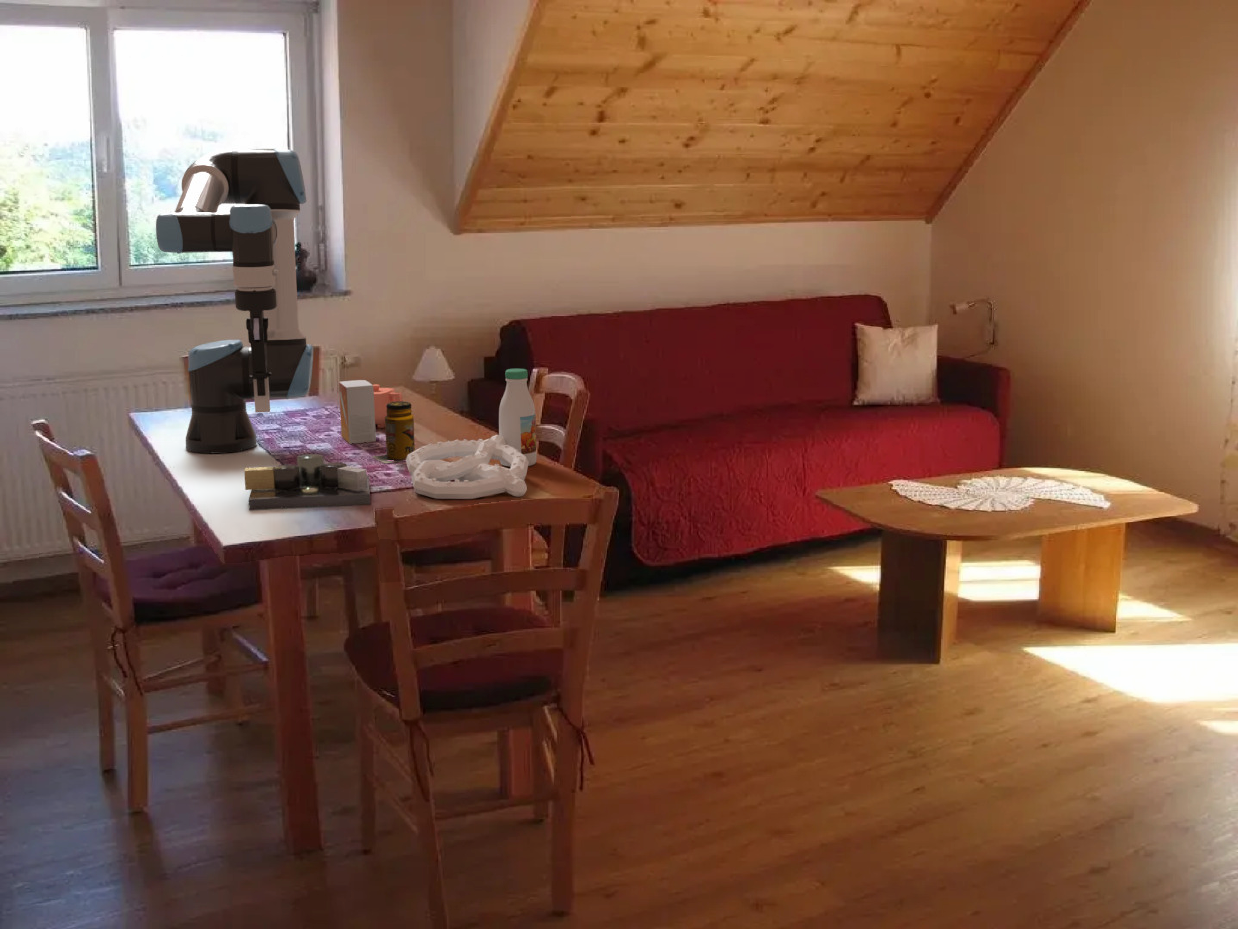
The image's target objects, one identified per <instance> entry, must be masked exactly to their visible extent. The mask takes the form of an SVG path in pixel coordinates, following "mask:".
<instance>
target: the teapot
mask: <svg viewBox="0 0 1238 929" xmlns="http://www.w3.org/2000/svg"><path fill="white" fill-rule="evenodd" d="M372 385H373V390H374V410H375V425H377V428H378V429H384V428H385V417H386V415H387V413H386V411H387V407H386V406H387V404H388V403H390V402H397V401H402V402H404V400H403V394H402V392H396V391H395V389H394V388H391V387H381V385H380V384H377V383H376V384H372Z"/></svg>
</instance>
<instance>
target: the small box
mask: <svg viewBox="0 0 1238 929" xmlns="http://www.w3.org/2000/svg"><path fill="white" fill-rule="evenodd" d="M373 385H374V384H372V383H371V382H370V381H367V380H365V379H356V380H344V381H343V380H342V381H338V389H339V410H340V432H341V435H340V436H341V437H342V438H343V439H344V440H345V441H346V442H347V443H348V444H350V445H353V444H352V443H354V444H361V443H362V444H363V443H364V442H366V443H374V442H377V436H376V434H377V433H376V432H377V431H376V424H375V410H374V390H373ZM364 444H365V443H364Z"/></svg>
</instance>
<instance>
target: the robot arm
mask: <svg viewBox="0 0 1238 929" xmlns="http://www.w3.org/2000/svg"><path fill="white" fill-rule="evenodd" d="M303 175H304V174H303V171H302V166H301V162H300V158H299V156H298V154H297V152H296V151H294V150H293V149H284V148H276V147H275V148H256V149H255V148H246V149H245V148H242V149H237V148H236V149H235V148H226V149H225V148H224V149H220V150H216V151H212V152H210V153H207V154H205V155H203V156H201V157H200V158H198V159H197V160H195V161H194V162H193V163H192V164H190V165H189V166H188V167H187V169H186V170H185V172H184V173H183V176H182V179H181V191H182V193H181V195H180V197H179V200H178V203H177V204H176V208H175V210H174V212H172V211H170V212H163V213H159V214H158V215H157V217H156V218H155V235H156V241H157V242H156V243H157V246H158V249H159V250H160V251H161V252H163V253H176V254H184V253H185V254H189V253H193V254H194V253H196V254H197V253H232V260H233V262H232V275H233V276H232V277H233V286H234V287H235V288H237V289H236V290H235V291H234V299H235V300H234V301H235V303H234V304H235V309H236V310H238V311H241V312H247V311H248V312H249V318H246V320H245V326H246V327H245V328H246V330H247V336H248V343H249V344H250V346H244V343H243V342H242V340H241V339H225V340H224V339H223V340H217V341H213V342H212V341H211V342H206V343H202V344H200V345H197V346H194V347H192V348H191V349H190V350H189V351H188V359H187V360H188V361H187V362H188V364H187V365H188V368H187V371H188V376H189V389H190V391H189V392H190V404H191V405H190V406H191V415H190V420H189V424H188V428H187V432H186V435H185V449H186V450H187V451H189V452H193V453H199V454H226V453H227V454H228V453H234V452H235V453H236V452H241V451H246V450H250V449H251V448H254V447H256V445H257V434H256V431H255V429H254V427H253V424H252V422H251V419H250V416H249V415H248V411H247V402H246V400H254V410H255V412H254V413H270V412H271V404H270V403H271V402H270V399H286V400H289V399H291V398H292V399H295V398H303V397H306V396H307V395H308V394H309V392H310V389H311V383H312V381H311V380H312V374H313V373H312V372H313V362H314V346H313V345H312V344H310V343H307V336H306V335H305V334H304V333H303V332H302V331H301V330H300V328H299V310H298V309H299V308H298V291H297V286H298V285H297V270H296V269H297V268H296V266H297V264H296V249H295V248H296V247H295V231H294V230H295V229H294V228H295V227H294V226H295V225H294V224H295V223H294V220H295V218H296V217H297V216H298V215H299V214H301V205H303V204H306V203H307V196H306V195H307V193H306V188H305V186H306V185H305V182H304V176H303ZM224 204H225V205H226V204H229V205H231V204H234V205H232V206H231V207H230V209H229V212H218V209H219V207H220V205H221V206H222V205H224Z"/></svg>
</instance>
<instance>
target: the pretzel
mask: <svg viewBox="0 0 1238 929" xmlns="http://www.w3.org/2000/svg"><path fill="white" fill-rule="evenodd" d="M505 444H506V442H505V440H504V438H503V437H502V436H500V435H499V434H495V435H492V436H491V437H490V438H487V439H484V440H483V439H482V438H478V440H475V439H471V440H467V438H464V439H463V440H459V439H455V440H451V441H450V440H449V439H448V440H447V441H445V442H442V441H437V443H434V444H433V443H428V444H427V445H424V446H422V445H420V447H419V448H417V449H416V450H415V451H414V452H412V453H410V454H408V455H407V458H406V461H405V463H406V466H407V470H408V472H409V474H410V477H411V479H410V480H411V482H412V487H413V489H414V491H415V493H416V494H419V495H422V496H426V497H429V498H433V499H436V500H437V499H438V500H440V499H441V500H444V499H445V500H446V499H447V500H472V499H478V498H482V497H487V496H492V495H497V494H501V493H505V492H506V493H508V494H509V495H512V496H513V497H516V498H517V497H518V498H521V497H523V496H524V495H525V494H526V492H527V490H528V488H527V487H528V486H527V484H526V481H525V479H526V478H527V472H528V468H529V466H528V464H529V462H528V460H527V458H526V457H525V456H524V455H523V454H521V453H520V452H518V450H516V449H514V448H513V447H511V446H509V445H505ZM454 457H459V458H460V459H459V460H456V461H451V462H450V461H445V460H444V459H450V458H454ZM491 460H496V461H499V462H500V461H503V462H505V463H506V464H507V465H509V466H510V468H507V467H505V466H504V467H503V466H502V465H500V464H499V463H494V465H492V464H490V461H491ZM509 466H508V467H509ZM452 480H454V481H452Z"/></svg>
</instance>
